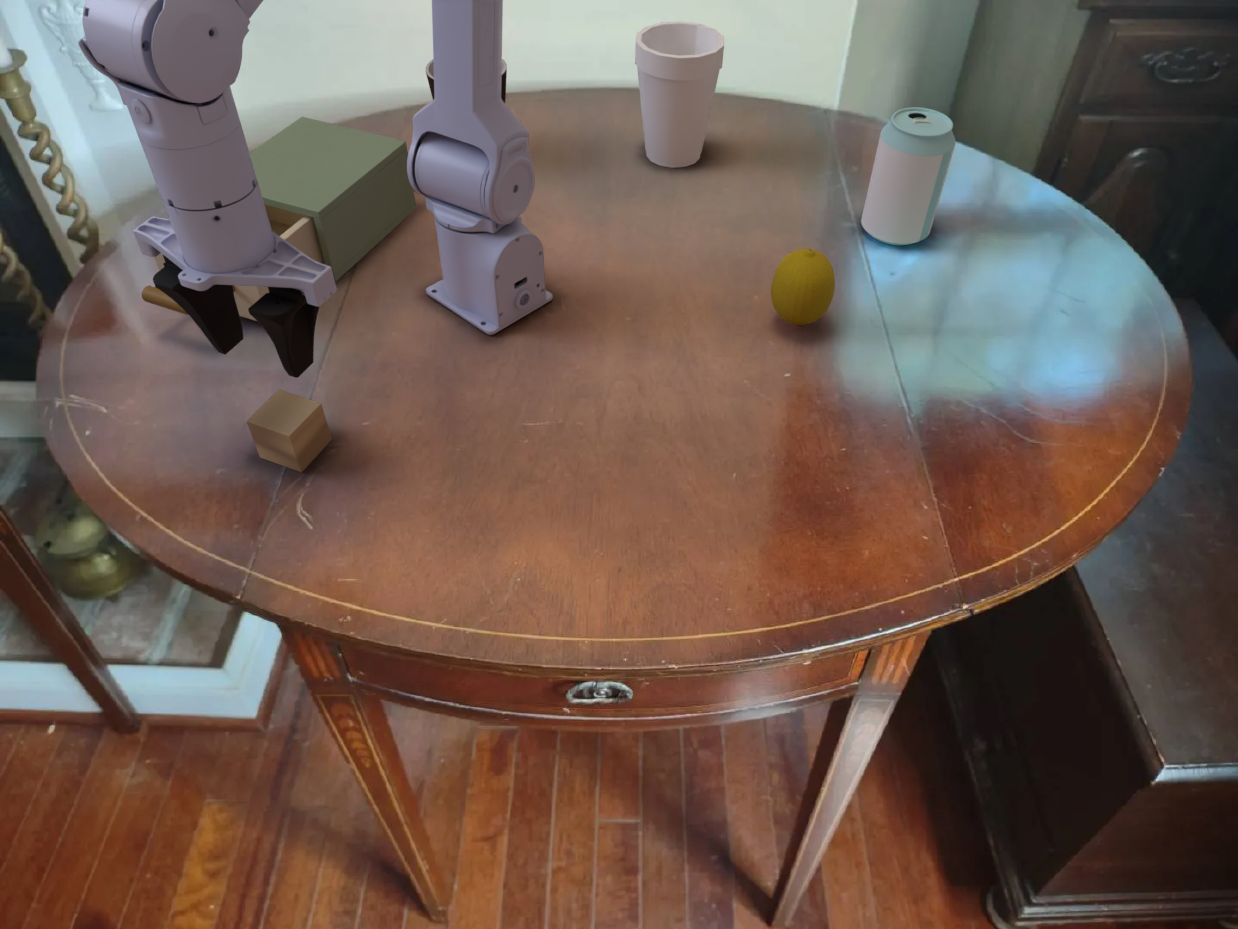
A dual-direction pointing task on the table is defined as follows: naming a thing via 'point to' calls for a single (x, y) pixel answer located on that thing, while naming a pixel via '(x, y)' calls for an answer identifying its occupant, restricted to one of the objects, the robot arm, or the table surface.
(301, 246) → the drawer
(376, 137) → the cabinet
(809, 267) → the lemon
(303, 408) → the block
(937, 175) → the can
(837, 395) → the table surface
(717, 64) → the foam cup
